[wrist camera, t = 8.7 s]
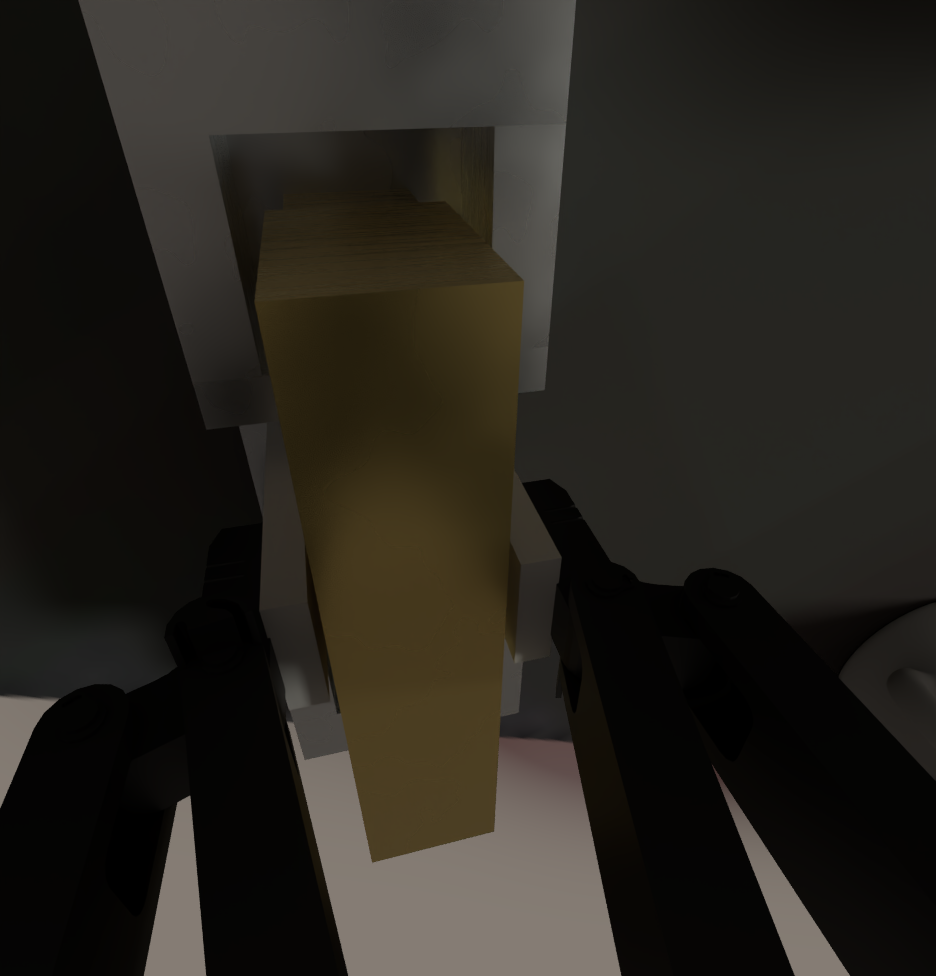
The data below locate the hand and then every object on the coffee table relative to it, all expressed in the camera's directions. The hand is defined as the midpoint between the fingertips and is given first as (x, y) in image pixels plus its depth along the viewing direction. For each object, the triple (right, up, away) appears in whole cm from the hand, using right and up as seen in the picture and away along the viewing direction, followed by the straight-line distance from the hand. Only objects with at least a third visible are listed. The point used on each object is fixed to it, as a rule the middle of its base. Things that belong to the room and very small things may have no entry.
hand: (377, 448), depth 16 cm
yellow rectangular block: (0, 0, 0) cm, 0 cm away
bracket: (0, +1, +1) cm, 2 cm away
